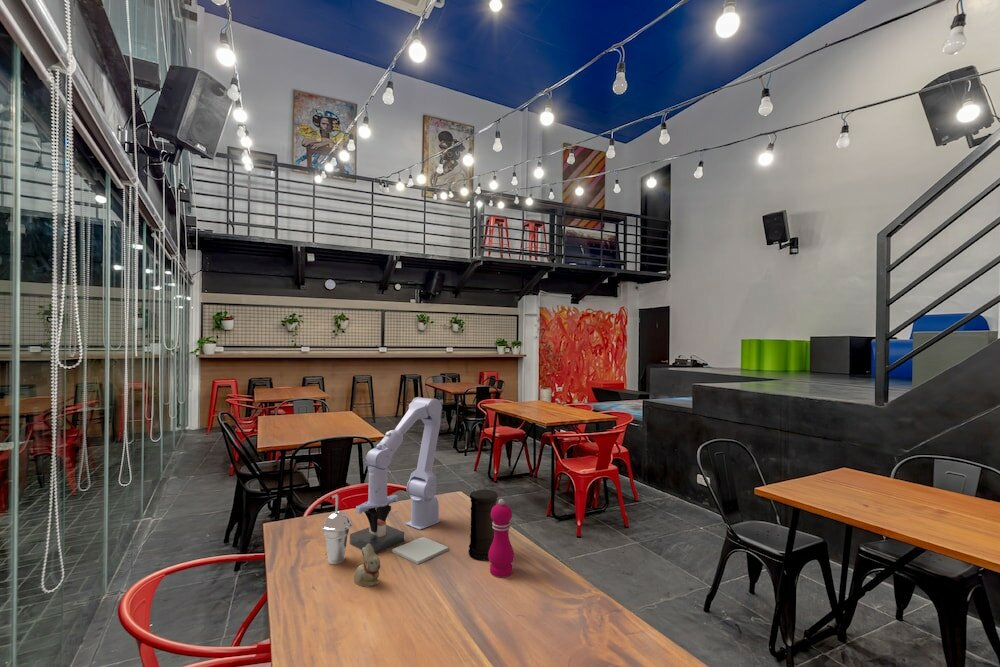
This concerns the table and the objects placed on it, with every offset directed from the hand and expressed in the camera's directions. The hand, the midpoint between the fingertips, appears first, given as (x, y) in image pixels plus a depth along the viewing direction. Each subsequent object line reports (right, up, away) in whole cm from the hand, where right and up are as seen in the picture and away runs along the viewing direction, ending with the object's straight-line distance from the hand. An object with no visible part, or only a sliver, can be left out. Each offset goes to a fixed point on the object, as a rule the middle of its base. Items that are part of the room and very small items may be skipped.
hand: (377, 530), depth 143 cm
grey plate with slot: (0, -4, 0) cm, 4 cm away
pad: (+15, -4, -6) cm, 16 cm away
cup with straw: (-9, -4, -12) cm, 16 cm away
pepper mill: (+39, -4, -18) cm, 44 cm away
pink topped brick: (0, -4, 0) cm, 4 cm away
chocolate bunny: (+4, -3, -24) cm, 24 cm away
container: (+34, -4, -8) cm, 35 cm away
